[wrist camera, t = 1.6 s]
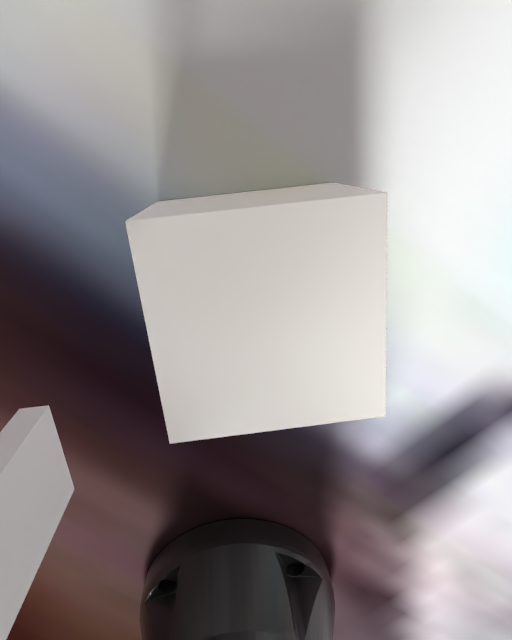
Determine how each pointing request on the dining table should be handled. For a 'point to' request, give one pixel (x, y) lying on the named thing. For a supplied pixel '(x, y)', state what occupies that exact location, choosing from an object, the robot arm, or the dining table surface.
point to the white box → (265, 307)
